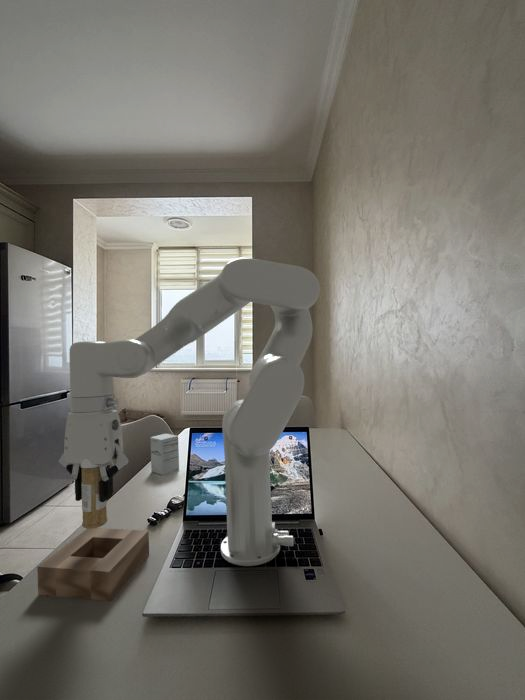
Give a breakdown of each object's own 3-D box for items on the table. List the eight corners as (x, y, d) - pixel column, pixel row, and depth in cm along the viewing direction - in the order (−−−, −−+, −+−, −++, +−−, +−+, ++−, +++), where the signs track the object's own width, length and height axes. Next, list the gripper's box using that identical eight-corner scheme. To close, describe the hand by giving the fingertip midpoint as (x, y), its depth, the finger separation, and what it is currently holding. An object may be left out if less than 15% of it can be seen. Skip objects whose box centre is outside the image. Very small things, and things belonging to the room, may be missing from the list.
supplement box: (150, 471, 128) (149, 436, 128) (168, 466, 133) (166, 432, 133) (162, 475, 123) (161, 439, 123) (180, 470, 128) (178, 435, 128)
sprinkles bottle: (109, 525, 68) (108, 455, 68) (83, 532, 65) (81, 459, 66) (105, 516, 72) (103, 450, 72) (80, 522, 69) (78, 454, 69)
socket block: (149, 554, 74) (148, 530, 74) (110, 601, 61) (109, 571, 61) (89, 550, 77) (88, 527, 77) (38, 594, 63) (37, 566, 63)
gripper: (142, 402, 71) (144, 492, 71) (67, 402, 74) (69, 489, 74) (121, 407, 64) (123, 509, 64) (39, 407, 67) (40, 505, 66)
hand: (94, 497), depth 69 cm, fingers closed on sprinkles bottle, 4 cm apart
